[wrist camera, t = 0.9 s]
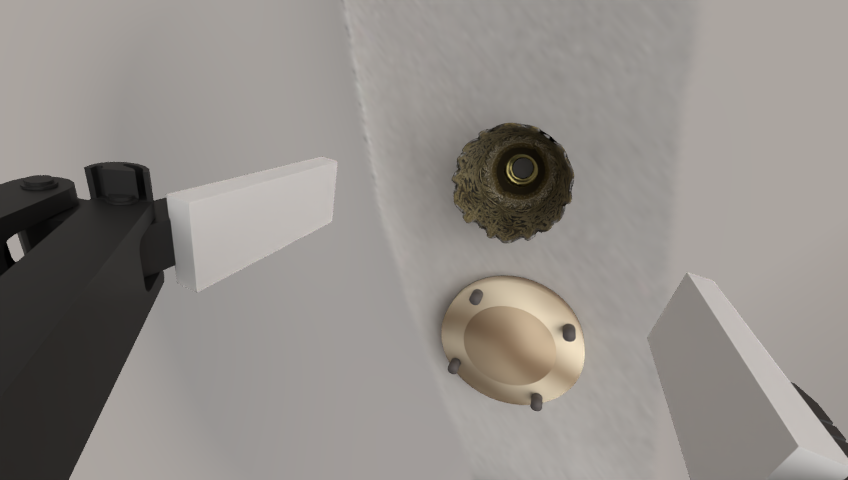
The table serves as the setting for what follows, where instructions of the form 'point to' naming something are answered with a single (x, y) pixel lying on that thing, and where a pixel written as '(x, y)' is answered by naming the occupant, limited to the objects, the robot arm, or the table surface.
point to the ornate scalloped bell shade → (513, 182)
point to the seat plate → (513, 340)
